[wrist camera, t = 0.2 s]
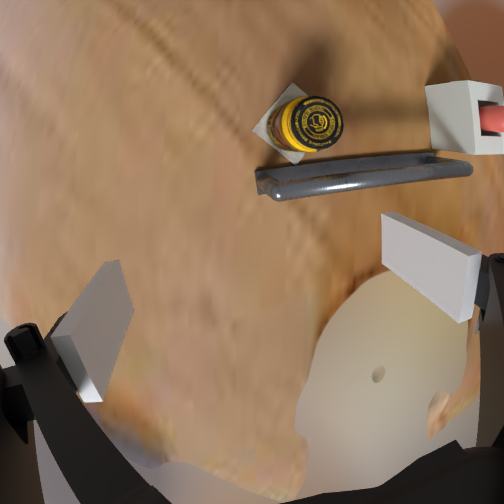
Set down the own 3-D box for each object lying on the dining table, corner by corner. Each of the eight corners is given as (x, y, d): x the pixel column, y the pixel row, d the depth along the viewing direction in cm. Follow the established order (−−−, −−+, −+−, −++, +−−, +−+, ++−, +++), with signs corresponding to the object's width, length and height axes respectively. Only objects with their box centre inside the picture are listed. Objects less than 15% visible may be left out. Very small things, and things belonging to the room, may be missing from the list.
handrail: (257, 194, 42) (273, 209, 32) (254, 171, 41) (269, 179, 31) (433, 171, 44) (476, 180, 34) (431, 152, 43) (475, 158, 33)
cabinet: (423, 82, 39) (466, 75, 30) (458, 86, 40) (501, 82, 30) (431, 149, 43) (475, 154, 33) (465, 147, 43) (507, 153, 34)
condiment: (251, 130, 39) (269, 125, 28) (291, 82, 37) (323, 61, 26) (295, 165, 41) (328, 174, 30) (333, 118, 40) (377, 112, 28)
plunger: (462, 105, 35) (507, 104, 26) (477, 106, 35) (521, 107, 27) (464, 129, 36) (510, 133, 28) (480, 130, 36) (524, 134, 28)
